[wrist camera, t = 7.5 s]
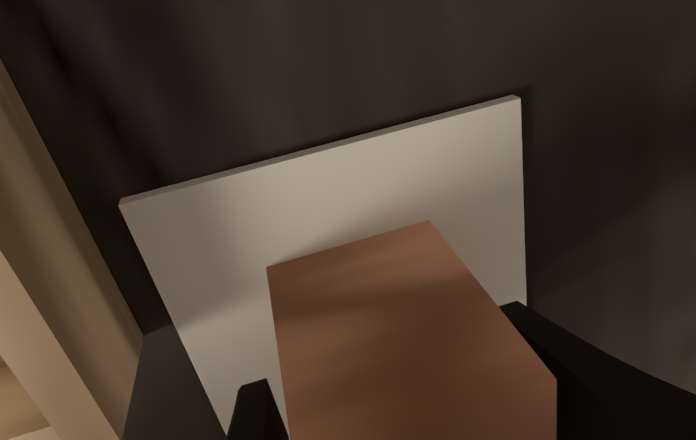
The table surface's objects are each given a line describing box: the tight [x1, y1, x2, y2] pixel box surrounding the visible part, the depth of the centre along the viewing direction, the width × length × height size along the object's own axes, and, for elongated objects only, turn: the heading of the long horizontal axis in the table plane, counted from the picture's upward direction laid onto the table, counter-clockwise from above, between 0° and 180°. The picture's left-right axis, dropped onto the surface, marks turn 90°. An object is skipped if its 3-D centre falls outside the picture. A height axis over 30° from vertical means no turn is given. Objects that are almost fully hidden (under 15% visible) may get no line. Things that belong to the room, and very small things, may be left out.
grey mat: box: [118, 95, 527, 440], centre depth 15 cm, size 10×10×1 cm
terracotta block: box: [266, 220, 557, 440], centre depth 12 cm, size 4×4×6 cm
